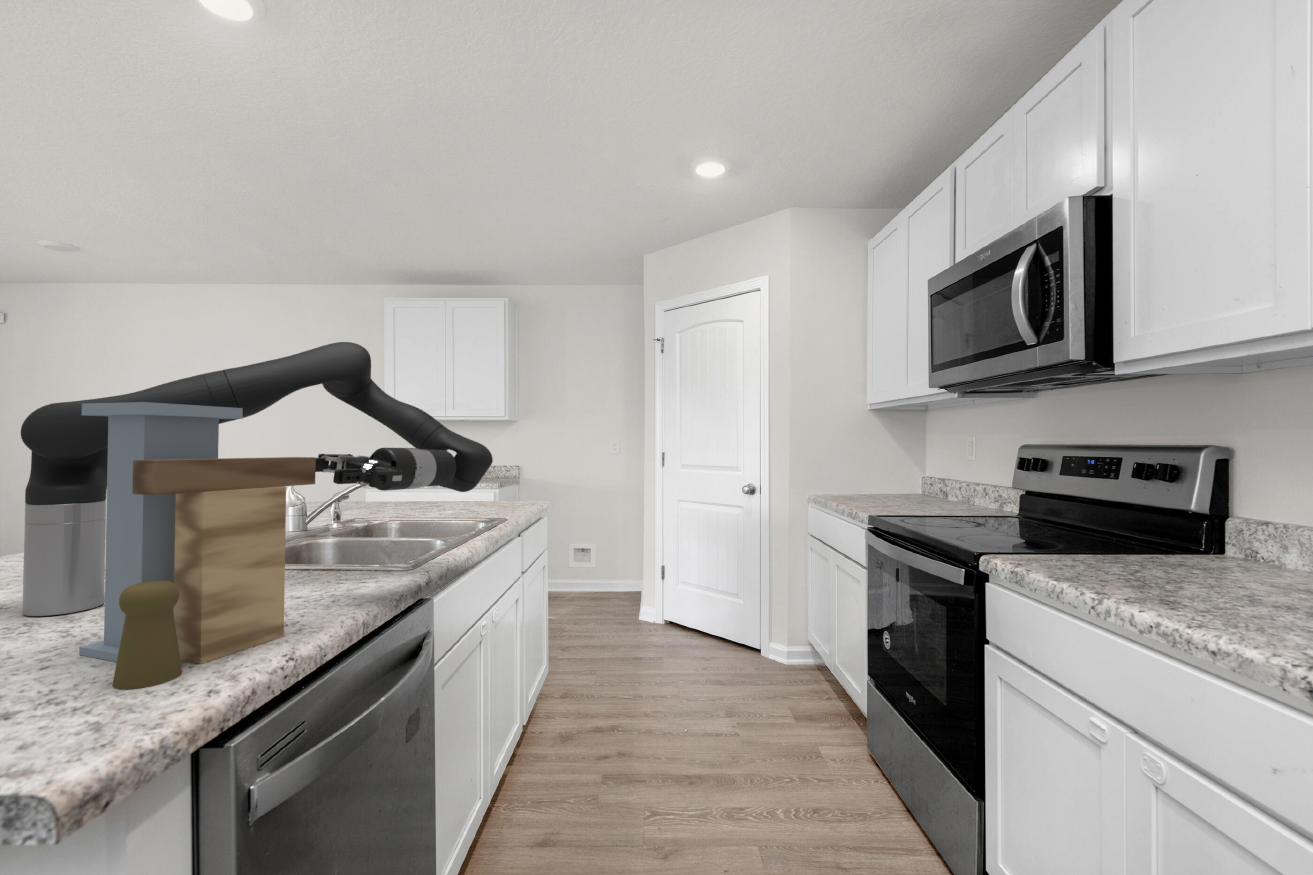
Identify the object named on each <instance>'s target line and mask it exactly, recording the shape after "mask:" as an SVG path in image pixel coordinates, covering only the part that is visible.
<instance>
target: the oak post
mask: <svg viewBox="0 0 1313 875" xmlns="http://www.w3.org/2000/svg"><path fill="white" fill-rule="evenodd" d="M286 510H287V486H282V487H267V488H253V489H239V490H225V491H210V492H196V493H182V494H176V506H175V561H174V583H175V585H176V586H177V587H178V590H179V598H178V601H177V603H176V605H175V606H174V621H175V627H176V634H177V640H178V647H179V653H180V660H181V662H182V661H183V662H188V663H194V664H199V665H203V664H204V663H205V664H206V663H209V662H210V661H213V660H216V659H220V658H222V657H225V656H229V655H233V654H234V653H237V652H240V651H244V650H247V649H249V648H252V647H256V646H258V645H262V644H264V643H267V642H270V641H273V640H277V639H279V638H282V637H284V636H285V635H284V634H285V588H286V587H285V586H286V585H285V584H286V583H285V582H286V581H285V578H286V574H285V573H286V572H285V571H286V570H285V569H286V524H287V523H286V518H287V517H286V516H287V511H286Z"/></svg>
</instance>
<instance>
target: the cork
mask: <svg viewBox="0 0 1313 875" xmlns="http://www.w3.org/2000/svg"><path fill="white" fill-rule="evenodd" d="M178 598H179V590H178V587H177V586H176V585H175V583H173V582H170V581H148V582H142V583H138V584H135V585H131V586H129V587H127V588H125V589H124V591H123V592H122V593H121V595H120V598H119V606H120V609H121V611H122V612H124V613H125V614H126V616H125V621H124V626H123V632H122V637H121V642H120V648H119V653H118V658H117V662H115V663H116V665H115V669H114V674H113V679H112V680H113V681H112V688H113V689H116V690H123V691H125V690H137V689H143V688H144V689H145V688H149V687H154V686H159V685H162V684H165V683H167V682H170V681H173V680H176V679H177V678H178V677H180V676H182V674H183V667H182V660H180V653H179V647H178V640H177V634H176V627H175V621H174V614H173V607H174V606H175V605H176V603H177V601H178Z"/></svg>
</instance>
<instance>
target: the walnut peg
mask: <svg viewBox="0 0 1313 875" xmlns="http://www.w3.org/2000/svg"><path fill="white" fill-rule="evenodd" d="M316 458H317V457H313V456H310V457H309V456H308V457H306V456H305V457H304V456H288V457H287V456H284V457H282V456H281V457H280V456H279V457H275V456H274V457H273V456H272V457H232V458H231V457H230V458H229V457H227V458H223V457H221V458H218V459H168V460H133V488H132V494H139V495H167V494H182V493H196V492H210V491H225V490H239V489H253V488H267V487H282V486H286V487H291V486H293V487H294V486H308V485H309V486H310V485H316V472H315V468H316Z"/></svg>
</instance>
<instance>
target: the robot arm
mask: <svg viewBox="0 0 1313 875" xmlns="http://www.w3.org/2000/svg"><path fill="white" fill-rule="evenodd" d="M319 385H322V387H323V388H324V390H326V392H327V393H328V394H330V395H331V396H333V397H335V398H336V399H338V400H340V401H341V402H343V403H345V404H347V405H349V406H351V407H352V408H354V409H356V410H358V411H360V412H361V413H364V414H365V415H367V416H369V417H371V418H372V419H374V420H375V421H377V422H379V423H380V424H382V425H383V426H385V427H387V428H388V429H389V430H391V431H392V432H394V433H395V434H396V435H397V436H399V437H400V438H402V439H403V440H404V441H406V442H407V443H409V445H411V446H412V447H380V448H378V449H376V450H375V451H374V452H373V453H372V454H371V455H370V456H368V455H367V456H365V455H357V456H354V454H351V453H348V454H345V453H343V454H342V453H341V454H339V453H337V454H336V453H318V456H317V457H316V468H315V473H320V472H321V473H332V474H333V477H332V479H333V480H332V482H333V483H334V484H336V485H349V484H351V485H352V484H353V485H354V484H357V485H360V486H365V485H366V486H369V487H370V488H372V489H373V488H375V489H377V490H379V491H384V492H385V491H387V492H388V491H398V490H399V491H401V490H414V489H420V488H424V487H442V488H445V489H449V490H453V491H455V492H460V493H466V492H469V491H472V490H473V489H474V488H476V487H477V486H478V484H479V483H480V482H481V480H482V478H483V477H484V476H485V474H486V473H487V472H488V470H489V469H490V468H491V466H492V464H493V461H494V460H493V458H494V457H493V454H492V453H491V451H490V449H489V448H488V447H486V446H485V445H484V444H482V443H481V442H478V441H475V440H472V439H470V438H468V437H465V436H463V435H461V434H459V433H457V432H455V431H453V430H450V429H449V428H447V427H446V426H445V425H443V424H442V423H441V422H439V420H437V419H436V418H434V417H433V416H432V415H431V414H429V413H428V412H426V411H424V410H423V409H421V408H419V407H418V406H417V407H416V406H415V405H412V404H409V403H406V402H403V401H400V400H399V399H396V398H394V397H392V396H390V395H389V394H388V393H386V392H385V391H384V390H383V389H382V388H381V387H380V386H379V385H378V384H376V382H375V381H374V380H373V379H372V358H371V355H370V352H369V351H368V350H367V348H365V346H362V345H360V344H358V343H355V342H350V341H340V342H332V343H328V344H325V345H321V346H317V347H315V348H312V349H308V350H305V351H301V352H298V353H295V354H292V355H287V356H284V357H280V358H276V359H270V360H266V361H261V362H256V363H251V364H248V365H243V366H239V367H238V366H237V367H231V368H225V369H223V370H222V369H221V370H220V369H219V370H215V371H210V372H206V373H201V374H197V375H192V376H190V377H189V376H187V377H183V378H180V379H177V380H172V381H169V382H165V383H162V384H159V385H155V386H152V387H148V388H146V389H142V390H138V391H135V392H130V393H126V394H119V395H113V396H107V397H105V396H104V397H100V398H90V399H82V400H81V399H80V400H75V401H74V400H72V401H63V402H62V401H61V402H55V403H54V402H53V403H48V404H46V405H43V406H41V407H38V408H37V409H35V410H34V411H32V412H31V413H30V414H29V415H27V417H26V418H25V419H24V420H23V423H22V424H21V428H20V438H21V441H22V442H23V444H24V445H25V446H26V447H27V448H28V449H29V450H30V451H31V458H30V472H29V473H30V474H29V478H28V482H27V484H26V487H25V490H24V491H25V492H24V503H25V504H24V538H23V539H24V542H23V543H24V544H23V545H24V548H23V551H24V552H23V574H22V576H23V577H22V578H23V580H22V615H24V616H28V617H29V616H30V617H43V616H44V617H45V616H56V615H64V614H71V613H77V612H81V611H85V610H91V609H94V608H97V607H99V606H100V607H101V606H102V605H103V604H105V565H106V515H107V464H108V416H87V415H82V404H85V403H127V402H151V403H167V404H183V405H199V406H215V407H231V408H243V414H242V419H244V418H248V417H251V416H253V415H257V414H258V413H260V412H262V411H264V410H266V409H267V408H269V407H271V406H272V405H274V404H276V403H278V402H279V401H281V400H282V399H283V398H285V397H287V396H289V395H291V394H293V393H295V392H297V391H300V390H303V389H305V388H308V387H313V386H319ZM237 420H238V419H219V425H220V424H224V423H229V422H233V421H237ZM449 451H452V452H455V453H456V454H455V455H454V456H453V454H452V452H449Z"/></svg>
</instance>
